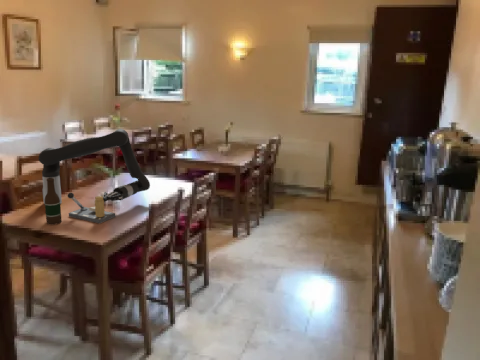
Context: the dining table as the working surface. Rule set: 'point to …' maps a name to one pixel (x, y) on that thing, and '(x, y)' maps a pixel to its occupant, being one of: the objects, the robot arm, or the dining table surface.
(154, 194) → the dining table surface
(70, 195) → the toggle lever
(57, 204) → the beer bottle
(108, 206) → the dining table surface
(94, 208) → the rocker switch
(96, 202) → the slider knob
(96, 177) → the dining table surface
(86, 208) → the control box
